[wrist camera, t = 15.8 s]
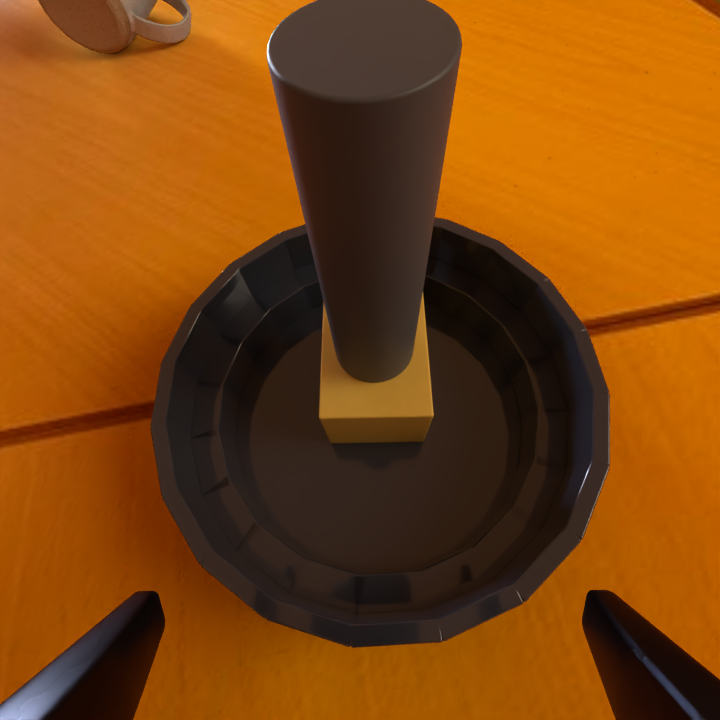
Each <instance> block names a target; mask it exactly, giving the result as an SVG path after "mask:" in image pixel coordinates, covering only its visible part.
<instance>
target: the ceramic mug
mask: <svg viewBox="0 0 720 720" xmlns="http://www.w3.org/2000/svg"><path fill="white" fill-rule="evenodd" d="M38 1H39V3H40V4H41V6H42V8H43V9H44V11H45V12H46V14H47V15H48V16H49V18H50V19H51V20H52V21H53V22H54V24H55V25H56V26H57V27H58V28H59V29H60V30H61V31H62V32H63V33H65V34H66V35H67V36H68V37H69V38H71V39H72V40H73V41H75V42H77V43H78V44H80V45H82V46H84V47H85V48H88V49H90V50H92V51H96V52H99V53H107V54H108V53H116V52H119V51H121V50H122V49H124V48H125V47H126V46H127V45H128V44H130V43H131V41H132V40H133V39H134V37H135V36H136V34H138V35H140V36H141V37H144V38H146V39H148V40H151V41H156V42H160V43H177V42H179V41H183V40H184V39H185V38H186V37H187V36H188V35H189V33H190V29H191V10H190V7H189V5H188V3H187V1H186V0H163V1H165V2H166V3H168V4H170V5H171V6H172V7H174V8H175V9H176V10H177V11H178V12H180V14H181V15H182V16H183V17H184V19H183V20H182V21H180V22H179V23H175V24H171V25H164V24H158V23H154V22H152V21H148V20H146V18H147V17H148V15H149V14H150V12H151V10H152V9H153V7H154V6H155V4H156V2H157V0H38Z"/></svg>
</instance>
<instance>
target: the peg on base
mask: <svg viewBox="0 0 720 720" xmlns="http://www.w3.org/2000/svg"><path fill="white" fill-rule="evenodd" d="M461 48H462V40H461V34H460V31H459V28H458V26H457V24H456V23H455V21H454V20H453V19H452V17H451V16H450V15H449V14H448V13H446V12H445V11H444V10H443V9H441V8H440V7H438V6H436V5H435V4H433V3H431V2H429V1H426V0H317V1H315V2H312V3H310V4H308V5H306V6H304V7H302V8H300V9H298V10H296V11H295V12H293V13H292V14H290V15H289V16H288V17H286V18H285V19H284V20H283V21H282V22H281V23H280V24H279V25H278V26H277V27H276V29H275V30H274V31H273V33H272V35H271V37H270V39H269V43H268V47H267V61H268V66H269V70H270V74H271V79H272V83H273V87H274V91H275V96H276V100H277V104H278V108H279V113H280V117H281V121H282V126H283V130H284V134H285V138H286V143H287V147H288V151H289V155H290V160H291V164H292V168H293V173H294V177H295V181H296V185H297V190H298V194H299V198H300V203H301V207H302V211H303V215H304V220H305V224H306V228H307V232H308V237H309V241H310V245H311V250H312V254H313V258H314V262H315V267H316V271H317V275H318V279H319V284H320V288H321V292H322V297H323V326H322V350H321V374H320V398H319V419H320V421H321V423H322V425H323V427H324V430H325V432H326V434H327V436H328V438H329V440H330V442H331V443H378V442H423V441H424V439H425V436H426V434H427V431H428V428H429V426H430V423H431V421H432V418H433V415H434V412H433V401H432V390H431V378H430V367H429V355H428V344H427V332H426V321H425V309H424V298H423V287H424V281H425V274H426V268H427V262H428V256H429V249H430V243H431V237H432V231H433V224H434V218H435V212H436V205H437V199H438V193H439V187H440V180H441V174H442V168H443V162H444V155H445V149H446V143H447V136H448V130H449V124H450V118H451V111H452V105H453V99H454V93H455V86H456V80H457V74H458V67H459V61H460V55H461Z"/></svg>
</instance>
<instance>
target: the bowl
mask: <svg viewBox="0 0 720 720" xmlns="http://www.w3.org/2000/svg"><path fill="white" fill-rule="evenodd" d="M423 298H424V309H425V321H426V332H427V344H428V355H429V367H430V378H431V390H432V401H433V412H434V415H433V418H432V421H431V423H430V426H429V428H428V431H427V434H426V436H425V439H424V441H423V442H378V443H331V442H330V440H329V438H328V436H327V434H326V432H325V430H324V427H323V425H322V423H321V421H320V419H319V398H320V374H321V350H322V326H323V297H322V292H321V288H320V284H319V279H318V275H317V271H316V267H315V262H314V258H313V254H312V250H311V245H310V241H309V237H308V232H307V228H306V224H305V225H302V226H298V227H295V228H292V229H289V230H286V231H283V232H280V234H279V233H278V234H277V235H275V236H273V237H272V238H270V239H269V240H267V241H265V242H264V243H262V244H261V245H259V246H257V247H256V248H254V249H253V250H251V251H249V252H248V253H246V254H245V255H243V256H241V257H240V258H238V259H237V260H235V261H233V262H232V263H231V264H229V265H228V266H227V267H226V268H225V270H224V271H223V272H222V273H221V274H220V275H219V276H218V277H217V278H216V279H215V280H214V281H213V282H212V283H211V284H210V286H209V287H208V288H207V289H206V290H205V291H204V292H203V293H202V294H201V295H200V296H199V297H198V298H197V299H196V300H195V302H194V303H193V304H192V305H191V306H190V308H189V309H188V311H187V313H186V315H185V317H184V319H183V321H182V323H181V325H180V327H179V329H178V331H177V333H176V335H175V337H174V339H173V340H172V342H171V344H170V346H169V348H168V350H167V352H166V354H165V356H164V358H163V360H162V363H161V368H160V374H159V380H158V385H157V391H156V397H155V403H154V409H153V415H152V420H151V434H152V440H153V446H154V452H155V458H156V465H157V471H158V477H159V483H160V489H161V495H162V497H163V498H162V499H163V501H164V503H165V504H166V506H167V508H168V510H169V511H170V513H171V515H172V517H173V519H174V520H175V522H176V524H177V526H178V527H179V529H180V531H181V533H182V535H183V536H184V538H185V540H186V542H187V543H188V545H189V547H190V549H191V551H192V552H193V554H194V556H195V558H196V559H197V561H198V563H199V564H200V565H201V566H202V568H204V569H205V570H206V571H207V572H208V573H210V574H211V575H212V576H213V577H214V578H216V579H217V580H218V581H219V582H220V583H222V584H223V585H224V586H225V587H226V588H228V589H229V590H230V591H231V592H233V593H234V594H235V595H236V596H237V597H239V598H240V599H241V600H242V601H243V602H245V603H246V604H247V605H248V606H249V607H251V608H252V609H253V610H254V611H255V612H257V613H258V614H259V615H260V616H262V617H263V618H266V619H267V620H268V621H271V622H274V623H277V624H280V625H283V626H286V627H289V628H292V629H295V630H298V631H301V632H304V633H307V634H311V635H314V636H317V637H320V638H323V639H326V640H329V641H332V642H335V643H338V644H341V645H344V646H347V647H350V646H351V647H352V648H356V647H373V646H389V645H405V644H421V643H438V642H442V640H443V641H446V640H448V639H450V638H452V637H455V636H457V635H459V634H461V633H463V632H465V631H467V630H469V629H471V628H474V627H476V626H478V625H480V624H482V623H484V622H486V621H488V620H490V619H492V618H495V617H497V616H499V615H501V614H503V613H505V612H507V611H509V610H511V609H513V608H516V607H518V606H520V605H522V604H523V602H526V601H527V600H528V599H529V598H530V597H531V595H532V594H533V593H534V592H535V591H536V590H537V589H538V588H539V587H540V586H541V585H542V583H543V582H544V581H545V580H546V579H547V578H548V577H549V576H550V575H551V574H552V573H553V571H554V570H555V569H556V568H557V567H558V566H559V565H560V564H561V563H562V562H563V561H564V559H565V558H566V557H567V556H568V555H569V554H570V553H571V552H572V551H573V550H574V549H575V547H576V546H577V545H578V544H579V543H580V542H581V540H582V539H583V536H584V534H585V531H586V529H587V526H588V523H589V521H590V518H591V515H592V513H593V510H594V507H595V505H596V502H597V499H598V497H599V494H600V492H601V489H602V486H603V484H604V481H605V478H606V476H607V473H608V470H609V465H610V395H609V390H608V387H607V385H606V382H605V379H604V376H603V373H602V370H601V367H600V365H599V362H598V359H597V356H596V353H595V350H594V348H593V345H592V342H591V339H590V336H589V333H588V331H587V329H586V327H585V326H584V325H583V323H582V322H581V321H580V319H579V318H578V317H577V315H576V314H575V313H574V311H573V310H572V309H571V307H570V306H569V305H568V303H567V302H566V301H565V299H564V298H563V297H562V295H561V294H560V293H559V291H558V290H557V289H556V287H555V286H554V285H553V283H552V282H551V281H550V279H548V277H546V276H545V275H544V274H542V273H541V272H540V271H538V270H537V269H536V268H535V267H533V266H532V265H531V264H529V263H528V262H527V261H525V260H524V259H523V258H521V257H520V256H519V255H517V254H516V253H515V252H513V251H512V250H511V249H510V248H508V247H507V246H506V245H504V244H503V243H502V242H500V241H498V240H496V239H493V238H491V237H488V236H486V235H483V234H481V233H479V232H476V231H474V230H471V229H469V228H467V227H464V226H462V225H459V224H457V223H455V222H452V221H450V220H447V219H442V218H434V224H433V231H432V237H431V243H430V249H429V256H428V262H427V268H426V274H425V281H424V287H423Z"/></svg>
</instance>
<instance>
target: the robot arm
mask: <svg viewBox="0 0 720 720" xmlns="http://www.w3.org/2000/svg"><path fill="white" fill-rule="evenodd" d="M582 625H583V630H584V633H585V636H586V639H587V642H588V644H589V647H590V650H591V653H592V655H593V658H594V661H595V664H596V666H597V669H598V672H599V675H600V677H601V680H602V683H603V686H604V688H605V691H606V694H607V697H608V699H609V702H610V705H611V708H612V710H613V713H614V716H615V718H616V720H720V680H719V679H718V678H717V677H716V676H715V675H713V674H712V673H711V672H710V671H708V670H707V669H706V668H705V667H704V666H702V665H701V664H700V663H699V662H697V661H696V660H695V659H694V658H693V657H691V656H690V655H689V654H688V653H686V652H685V651H684V650H683V649H682V648H680V647H679V646H678V645H677V644H675V643H674V642H673V641H672V640H671V639H669V638H668V637H667V636H666V635H665V634H663V633H662V632H661V631H660V630H658V629H657V628H656V627H655V626H654V625H652V624H651V623H650V622H649V621H647V620H646V619H645V618H644V617H643V616H641V615H640V614H639V613H638V612H636V611H635V610H634V609H633V608H632V607H630V606H629V605H628V604H627V603H625V602H624V601H623V600H622V599H621V598H619V597H618V596H617V595H616V594H614V593H613V592H611V591H608V590H590V591H589V592H588V593H587V596H586V601H585V606H584V612H583V617H582ZM164 627H165V617H164V613H163V609H162V606H161V602H160V598H159V595H158V593H156V592H155V591H138V592H136V593H134V594H133V595H131V596H130V597H129V598H128V599H127V600H125V601H124V602H123V603H122V604H121V605H119V606H118V607H117V608H116V609H115V610H113V611H112V612H111V613H110V614H108V615H107V616H106V617H105V618H104V619H102V620H101V621H100V622H99V623H98V624H96V625H95V626H94V627H93V628H92V629H90V630H89V631H88V632H87V633H86V634H84V635H83V636H82V637H81V638H80V639H78V640H77V641H76V642H75V643H74V644H72V645H71V646H70V647H69V648H67V649H66V650H65V651H64V652H63V653H61V654H60V655H59V656H58V657H57V658H55V659H54V660H53V661H52V662H51V663H49V664H48V665H47V666H46V667H45V668H43V669H42V670H41V671H40V672H39V673H37V674H36V675H35V676H34V677H33V678H31V679H30V680H29V681H28V682H26V683H25V684H24V685H23V686H22V687H20V688H19V689H18V690H17V691H16V692H14V693H13V694H12V695H11V696H10V697H8V698H7V699H6V700H5V701H4V702H2V703H1V704H0V720H133V718H134V715H135V712H136V710H137V707H138V704H139V701H140V698H141V696H142V693H143V690H144V687H145V684H146V681H147V678H148V675H149V672H150V669H151V666H152V663H153V661H154V658H155V655H156V652H157V649H158V646H159V643H160V640H161V637H162V634H163V631H164Z"/></svg>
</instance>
